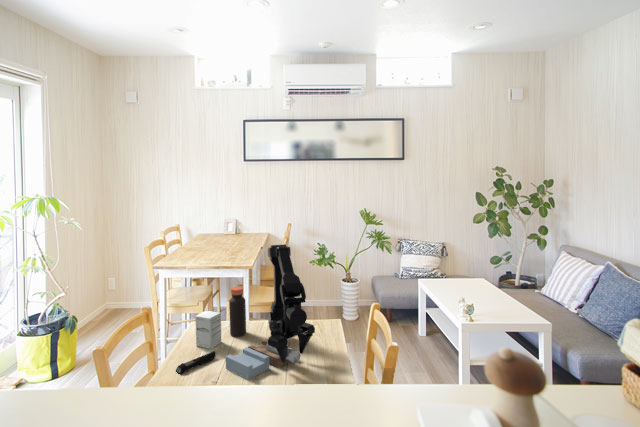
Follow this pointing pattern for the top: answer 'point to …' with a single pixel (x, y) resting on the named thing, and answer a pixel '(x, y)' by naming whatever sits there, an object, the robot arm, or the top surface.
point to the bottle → (237, 312)
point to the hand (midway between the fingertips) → (292, 357)
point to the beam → (269, 354)
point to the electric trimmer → (195, 362)
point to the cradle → (247, 363)
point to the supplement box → (208, 329)
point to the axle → (291, 354)
